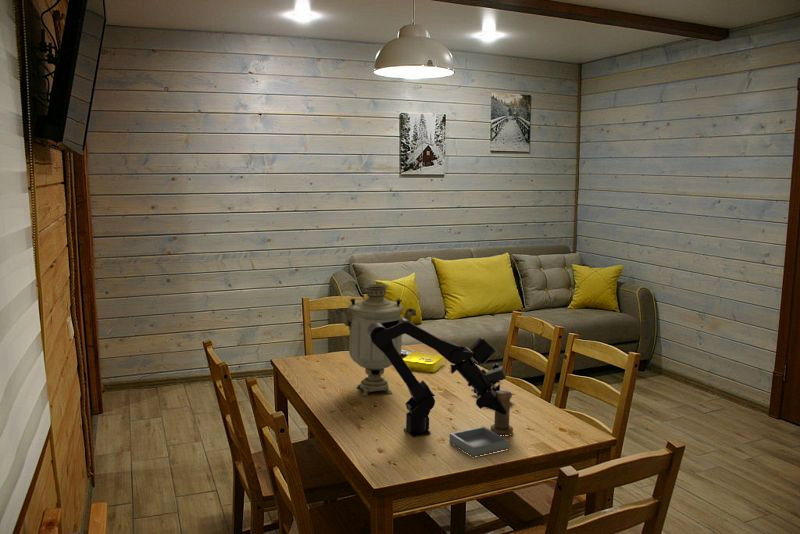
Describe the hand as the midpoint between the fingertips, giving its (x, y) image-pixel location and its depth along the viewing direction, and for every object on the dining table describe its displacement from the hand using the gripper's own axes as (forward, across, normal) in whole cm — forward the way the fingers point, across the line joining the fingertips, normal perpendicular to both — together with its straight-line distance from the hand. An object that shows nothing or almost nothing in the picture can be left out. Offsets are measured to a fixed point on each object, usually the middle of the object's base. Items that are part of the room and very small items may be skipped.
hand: (506, 411), depth 210 cm
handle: (+4, 0, +6) cm, 7 cm away
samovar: (-31, +32, +42) cm, 61 cm away
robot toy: (0, +31, +11) cm, 33 cm away
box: (0, -13, +10) cm, 17 cm away
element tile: (-23, +66, +34) cm, 78 cm away
